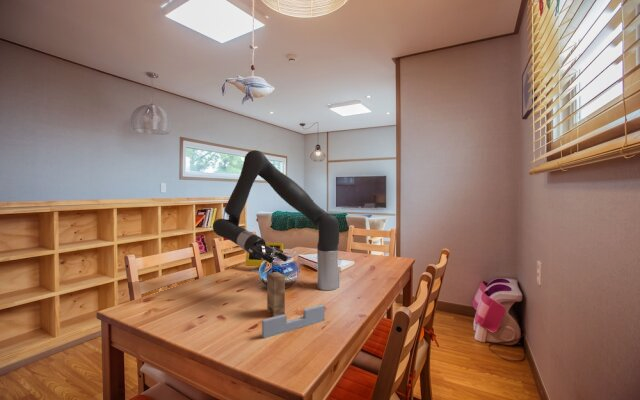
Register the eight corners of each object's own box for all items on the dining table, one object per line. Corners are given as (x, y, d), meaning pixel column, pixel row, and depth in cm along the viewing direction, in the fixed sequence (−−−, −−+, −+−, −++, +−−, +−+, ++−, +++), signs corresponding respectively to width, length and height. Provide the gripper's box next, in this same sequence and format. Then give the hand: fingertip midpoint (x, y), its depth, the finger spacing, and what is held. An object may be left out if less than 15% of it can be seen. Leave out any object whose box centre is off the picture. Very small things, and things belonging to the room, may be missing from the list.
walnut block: (277, 309, 112) (277, 271, 112) (284, 314, 107) (284, 275, 107) (267, 311, 110) (267, 273, 109) (274, 317, 105) (274, 277, 104)
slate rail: (321, 318, 104) (321, 304, 104) (324, 320, 102) (324, 305, 102) (262, 336, 91) (261, 319, 91) (264, 338, 90) (264, 321, 90)
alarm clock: (244, 271, 163) (244, 242, 163) (250, 267, 171) (250, 240, 170) (280, 273, 160) (280, 243, 159) (284, 269, 167) (284, 241, 167)
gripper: (240, 234, 116) (270, 251, 107) (265, 234, 128) (294, 250, 120) (234, 252, 116) (264, 271, 108) (259, 250, 129) (287, 267, 120)
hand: (279, 260), depth 114 cm, fingers open, 8 cm apart
